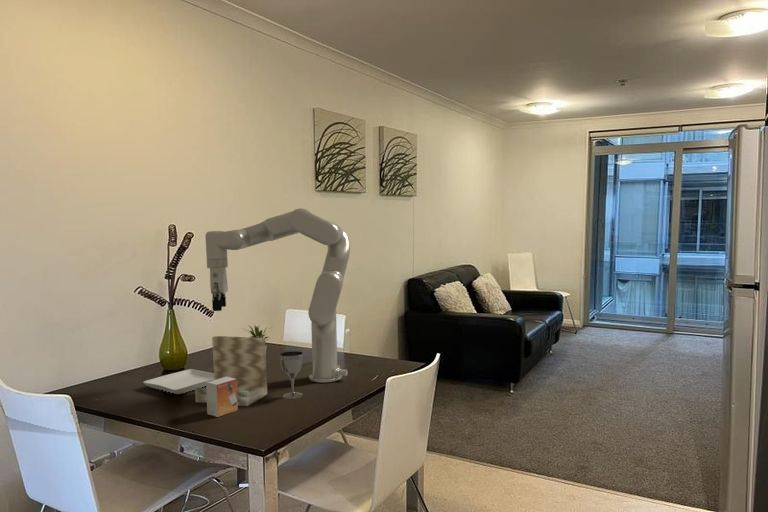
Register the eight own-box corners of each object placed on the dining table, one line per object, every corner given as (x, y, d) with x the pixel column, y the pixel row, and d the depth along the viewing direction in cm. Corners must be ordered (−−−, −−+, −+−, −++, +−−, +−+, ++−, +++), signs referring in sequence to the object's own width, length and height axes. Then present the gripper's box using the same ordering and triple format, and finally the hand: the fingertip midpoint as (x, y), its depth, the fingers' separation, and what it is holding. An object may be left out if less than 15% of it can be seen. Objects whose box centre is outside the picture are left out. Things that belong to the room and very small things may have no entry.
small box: (217, 417, 172) (216, 384, 171) (206, 414, 175) (205, 382, 175) (238, 410, 178) (237, 378, 178) (227, 407, 182) (226, 375, 181)
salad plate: (191, 375, 221) (190, 367, 221) (225, 383, 209) (224, 375, 209) (141, 390, 204) (141, 380, 204) (176, 399, 192) (175, 390, 192)
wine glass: (294, 400, 186) (292, 357, 185) (276, 397, 190) (274, 354, 189) (309, 394, 193) (307, 352, 192) (292, 390, 197) (290, 349, 196)
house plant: (233, 360, 242) (231, 324, 241) (256, 354, 254) (255, 319, 252) (255, 365, 234) (253, 327, 233) (279, 357, 245) (277, 321, 244)
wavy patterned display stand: (267, 393, 194) (264, 338, 193) (247, 406, 182) (245, 346, 180) (218, 390, 200) (215, 336, 199) (195, 402, 188) (192, 344, 186)
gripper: (223, 265, 199) (226, 312, 200) (231, 261, 216) (233, 304, 218) (202, 266, 198) (204, 313, 199) (211, 262, 215) (213, 305, 217)
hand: (219, 308), depth 209 cm, fingers open, 9 cm apart
